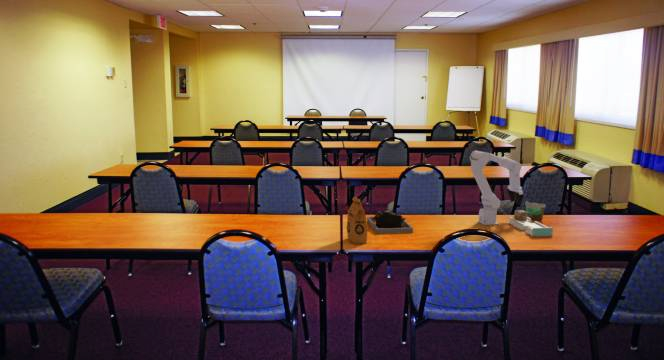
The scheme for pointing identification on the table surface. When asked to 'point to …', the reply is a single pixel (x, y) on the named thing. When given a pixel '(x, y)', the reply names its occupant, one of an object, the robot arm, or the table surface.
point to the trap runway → (532, 227)
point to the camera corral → (390, 230)
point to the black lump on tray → (388, 220)
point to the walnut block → (520, 215)
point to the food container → (535, 210)
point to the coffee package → (357, 223)
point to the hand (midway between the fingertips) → (515, 203)
